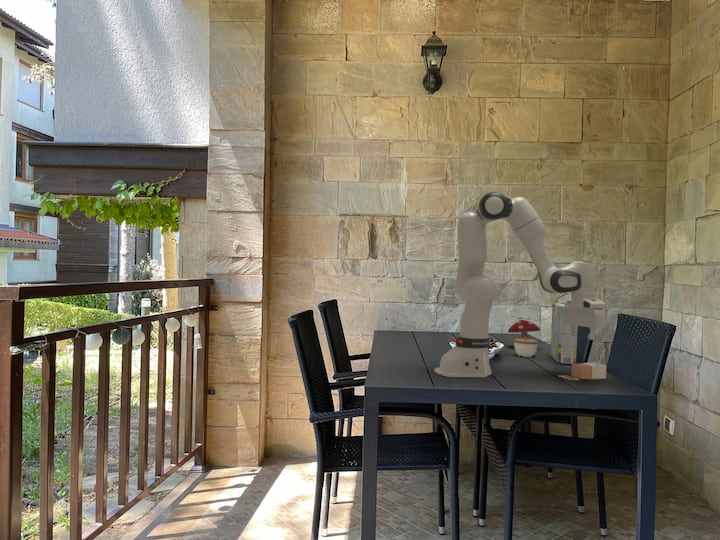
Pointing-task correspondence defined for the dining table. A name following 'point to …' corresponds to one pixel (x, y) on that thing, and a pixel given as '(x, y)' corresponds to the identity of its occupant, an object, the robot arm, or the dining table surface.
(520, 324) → the decorative mushroom
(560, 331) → the snack box
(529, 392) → the dining table surface
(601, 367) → the block
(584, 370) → the stub
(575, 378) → the stub mat
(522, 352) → the lidded jar
